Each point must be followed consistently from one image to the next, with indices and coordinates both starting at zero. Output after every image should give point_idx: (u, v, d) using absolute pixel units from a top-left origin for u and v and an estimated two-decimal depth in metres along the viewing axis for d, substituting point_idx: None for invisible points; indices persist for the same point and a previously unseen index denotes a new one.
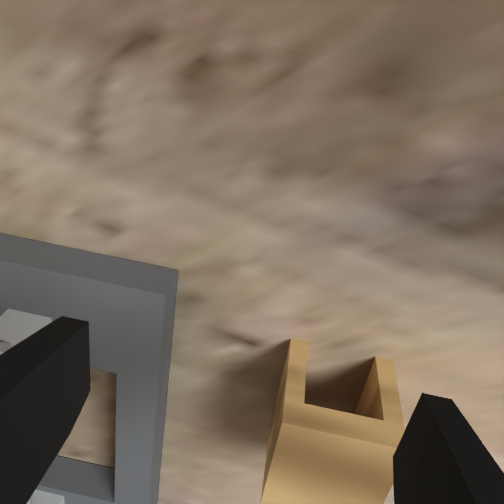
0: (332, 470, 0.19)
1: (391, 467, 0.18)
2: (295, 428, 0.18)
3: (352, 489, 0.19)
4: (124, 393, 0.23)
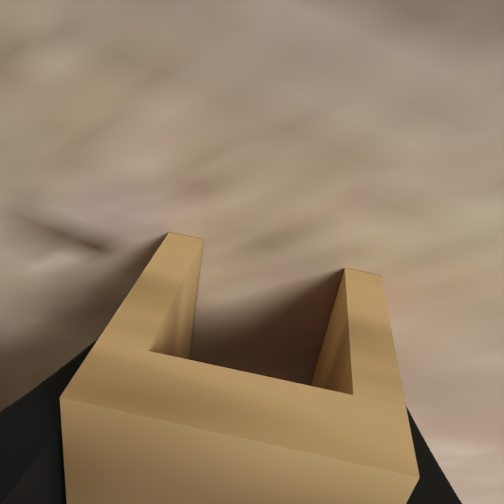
0: None
1: None
2: (97, 413, 0.06)
3: None
4: None
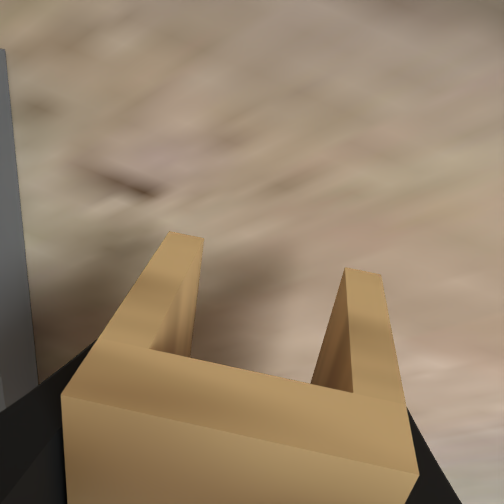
0: None
1: None
2: (98, 411, 0.06)
3: None
4: None
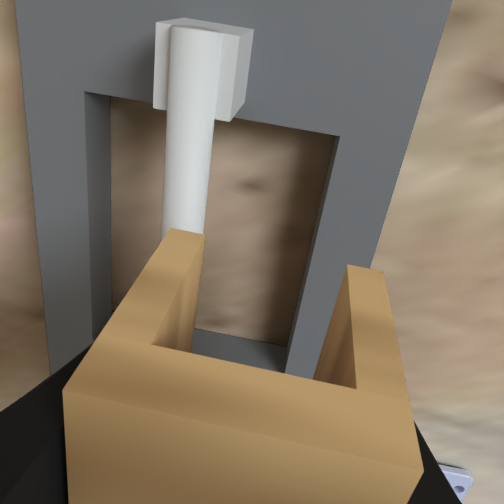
0: None
1: None
2: (100, 406, 0.06)
3: None
4: (344, 175, 0.15)
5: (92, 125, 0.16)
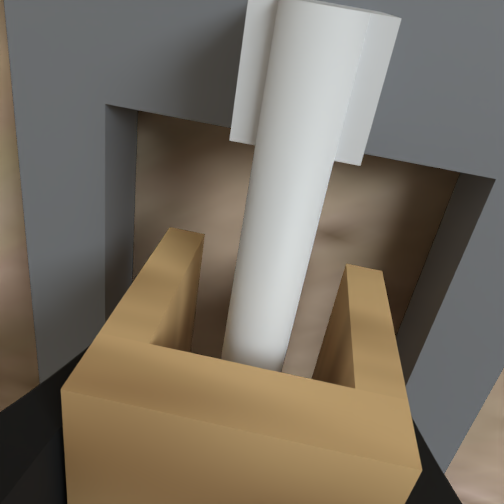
0: None
1: None
2: (99, 405, 0.06)
3: None
4: (492, 234, 0.10)
5: (114, 152, 0.11)
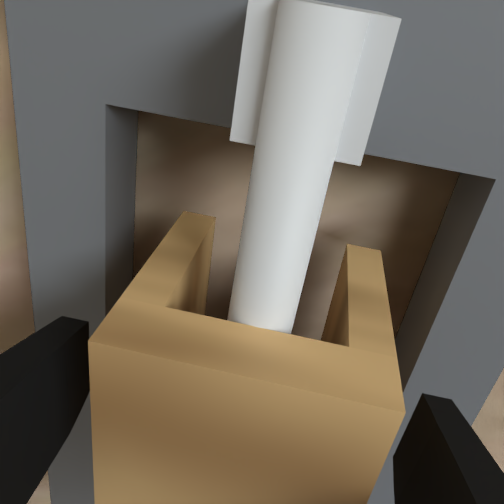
0: (227, 463, 0.08)
1: (364, 457, 0.07)
2: (121, 355, 0.07)
3: None
4: (492, 234, 0.10)
5: (114, 152, 0.11)
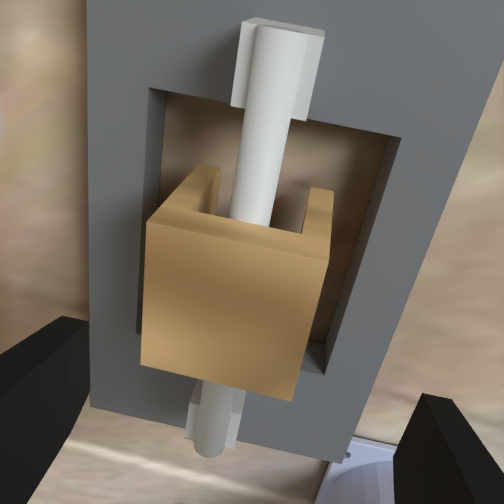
0: (226, 304, 0.13)
1: (307, 294, 0.12)
2: (165, 231, 0.12)
3: (258, 337, 0.13)
4: (402, 175, 0.15)
5: (151, 121, 0.16)
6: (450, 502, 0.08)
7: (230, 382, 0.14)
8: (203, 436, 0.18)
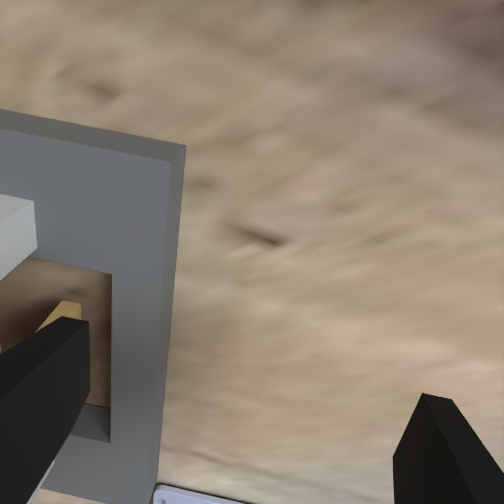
0: None
1: None
2: None
3: None
4: (121, 300, 0.19)
5: None
6: (450, 502, 0.08)
7: None
8: None
